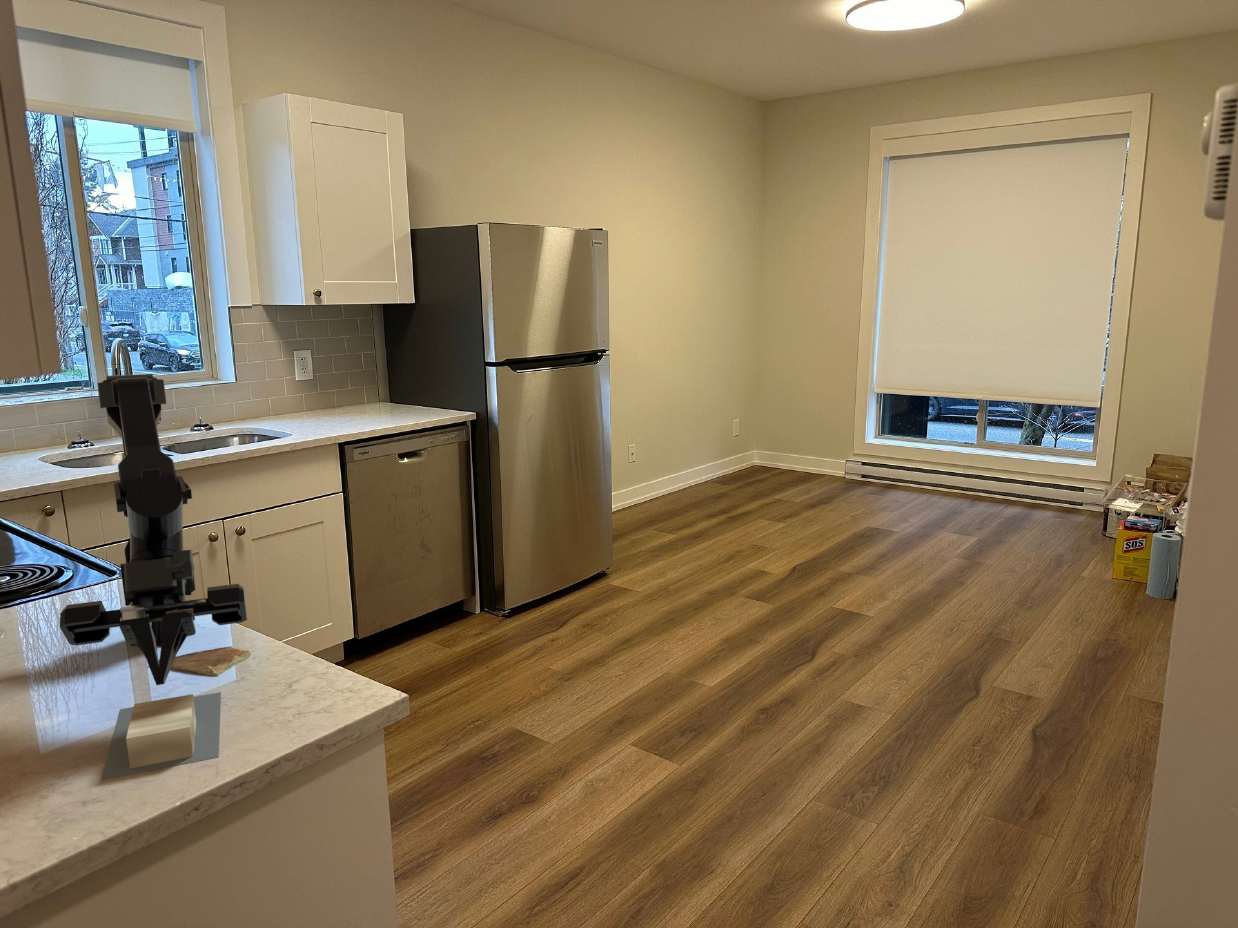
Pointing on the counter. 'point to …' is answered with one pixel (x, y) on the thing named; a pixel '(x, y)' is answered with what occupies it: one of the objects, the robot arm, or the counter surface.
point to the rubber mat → (203, 750)
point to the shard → (211, 660)
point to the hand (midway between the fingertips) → (159, 683)
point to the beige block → (161, 731)
